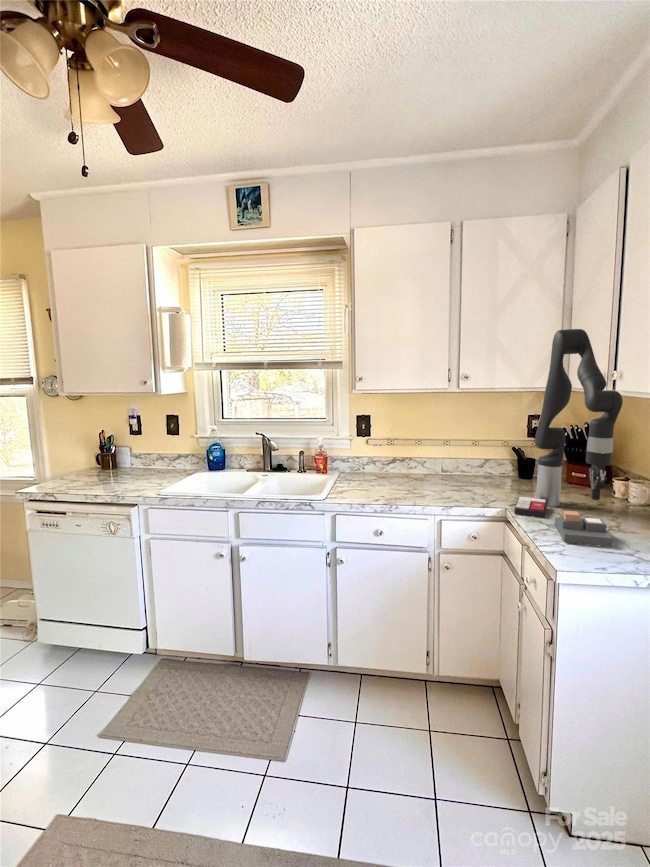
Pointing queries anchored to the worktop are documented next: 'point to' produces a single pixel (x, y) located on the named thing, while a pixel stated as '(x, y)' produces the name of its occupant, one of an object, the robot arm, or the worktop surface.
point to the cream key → (593, 520)
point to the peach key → (571, 516)
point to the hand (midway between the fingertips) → (595, 499)
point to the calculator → (531, 507)
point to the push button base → (583, 532)
